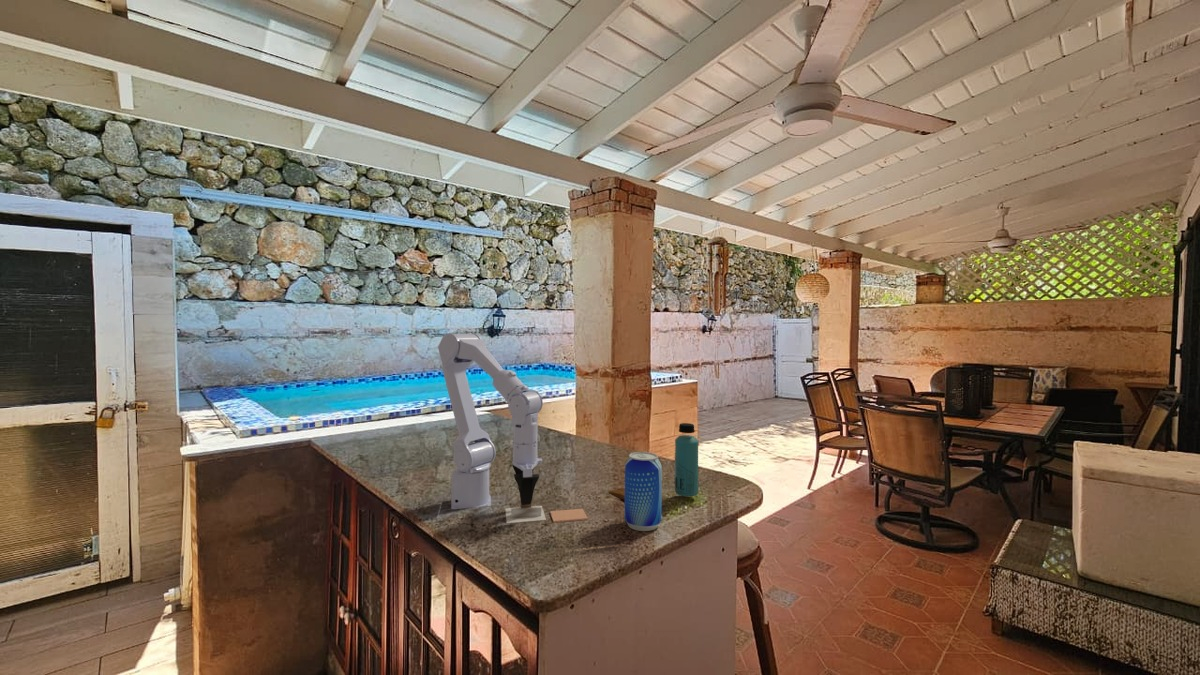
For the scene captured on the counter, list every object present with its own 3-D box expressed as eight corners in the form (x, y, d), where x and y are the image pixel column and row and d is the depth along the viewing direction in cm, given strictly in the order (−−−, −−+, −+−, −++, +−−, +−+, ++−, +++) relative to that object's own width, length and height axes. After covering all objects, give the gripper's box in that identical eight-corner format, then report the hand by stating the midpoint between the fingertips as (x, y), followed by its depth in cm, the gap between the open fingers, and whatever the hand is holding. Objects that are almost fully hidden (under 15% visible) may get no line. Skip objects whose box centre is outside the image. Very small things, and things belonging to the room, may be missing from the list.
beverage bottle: (702, 496, 125) (702, 423, 125) (693, 504, 119) (694, 427, 119) (679, 492, 128) (680, 420, 128) (669, 499, 123) (670, 424, 123)
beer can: (664, 520, 109) (665, 452, 109) (657, 535, 101) (657, 461, 101) (630, 515, 112) (630, 449, 111) (620, 529, 104) (620, 458, 103)
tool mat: (506, 525, 105) (506, 523, 105) (505, 510, 114) (505, 508, 114) (546, 521, 108) (546, 519, 108) (541, 507, 116) (541, 505, 116)
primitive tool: (607, 493, 129) (607, 480, 129) (624, 490, 131) (624, 477, 131) (645, 517, 112) (645, 503, 112) (664, 513, 114) (664, 499, 114)
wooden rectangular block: (511, 518, 108) (511, 488, 108) (510, 513, 111) (510, 484, 111) (541, 515, 110) (541, 486, 110) (539, 510, 113) (540, 482, 113)
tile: (550, 516, 112) (553, 526, 106) (550, 511, 112) (553, 521, 106) (582, 513, 114) (587, 523, 108) (582, 508, 114) (587, 518, 108)
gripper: (545, 448, 105) (545, 508, 105) (539, 434, 119) (538, 487, 119) (514, 449, 103) (513, 510, 103) (511, 435, 117) (510, 489, 117)
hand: (525, 498), depth 111 cm, fingers open, 7 cm apart
